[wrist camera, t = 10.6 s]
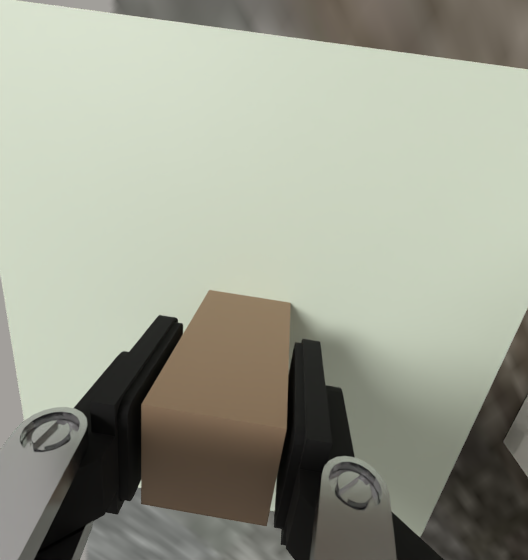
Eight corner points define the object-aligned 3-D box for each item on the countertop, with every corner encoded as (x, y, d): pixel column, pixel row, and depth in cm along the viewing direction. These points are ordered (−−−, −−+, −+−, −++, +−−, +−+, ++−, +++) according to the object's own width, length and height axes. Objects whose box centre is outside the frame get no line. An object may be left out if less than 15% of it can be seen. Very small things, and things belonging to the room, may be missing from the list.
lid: (-11, 7, 11) (-482, -202, 4) (596, 90, 10) (1126, -6, 4) (48, 448, 18) (-97, 626, 11) (412, 512, 18) (484, 738, 11)
